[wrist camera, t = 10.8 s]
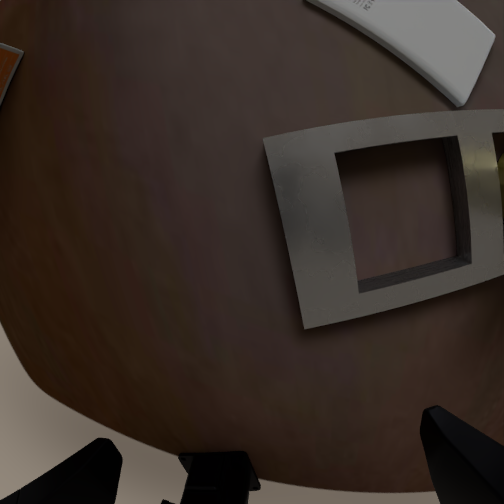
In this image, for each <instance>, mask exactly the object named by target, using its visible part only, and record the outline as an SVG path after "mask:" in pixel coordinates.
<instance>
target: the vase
mask: <svg viewBox="0 0 504 504" xmlns="http://www.w3.org/2000/svg"><path fill="white" fill-rule="evenodd" d="M497 167H498V174H499V182H500V191H501V202H502V216H503V218H504V153H503V154H502V155H501V157H500V159H499V161H498V163H497Z"/></svg>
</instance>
